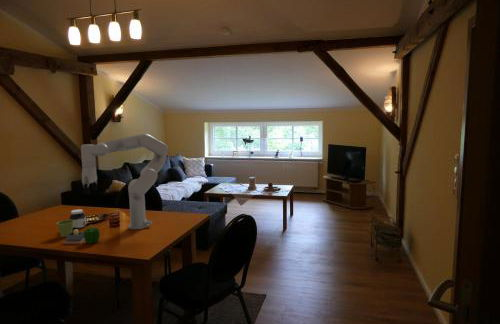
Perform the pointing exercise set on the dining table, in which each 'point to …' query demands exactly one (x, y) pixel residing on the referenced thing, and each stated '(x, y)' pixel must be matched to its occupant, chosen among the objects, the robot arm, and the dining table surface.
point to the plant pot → (65, 227)
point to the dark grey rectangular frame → (75, 236)
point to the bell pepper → (91, 235)
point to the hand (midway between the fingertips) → (90, 192)
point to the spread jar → (78, 219)
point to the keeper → (74, 241)
